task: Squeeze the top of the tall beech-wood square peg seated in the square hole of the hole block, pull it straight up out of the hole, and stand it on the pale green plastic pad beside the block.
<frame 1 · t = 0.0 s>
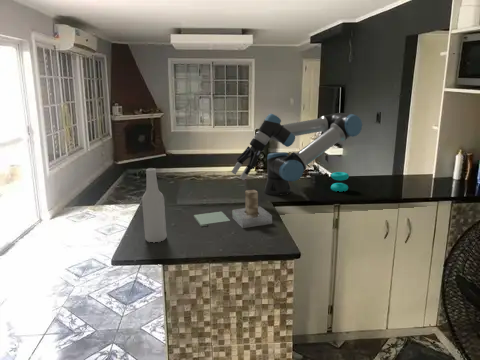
hand: (237, 176, 209), 15 cm above the countertop, tool tilted 35°, fingers open, 13 cm apart
square peg: (251, 220, 185), point 1 cm above the countertop, touching hole block
alcohol: (156, 239, 169), on the countertop
pad: (211, 219, 190), on the countertop
hole block: (251, 222, 185), on the countertop
donuts: (339, 190, 236), on the countertop
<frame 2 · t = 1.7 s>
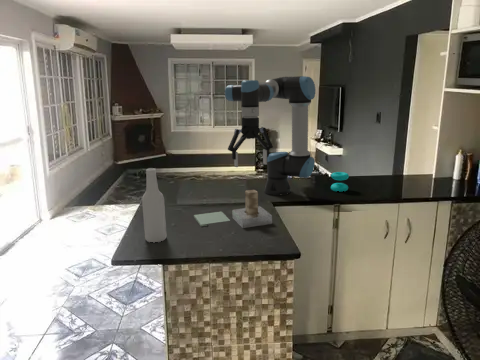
hand: (250, 165, 179), 27 cm above the countertop, tool pointing down, fingers open, 13 cm apart
nothing on the countertop moved.
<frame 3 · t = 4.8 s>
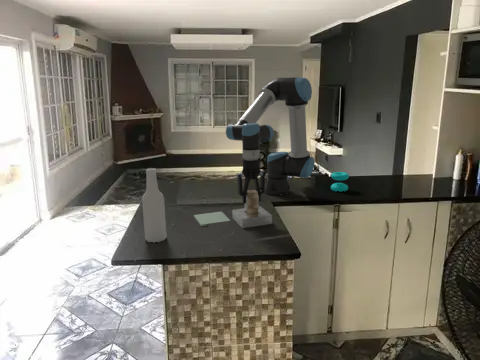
hand: (251, 208, 184), 7 cm above the countertop, tool pointing down, fingers closed on square peg, 4 cm apart
square peg: (251, 220, 185), point 1 cm above the countertop, touching gripper, hole block
everything else where it was.
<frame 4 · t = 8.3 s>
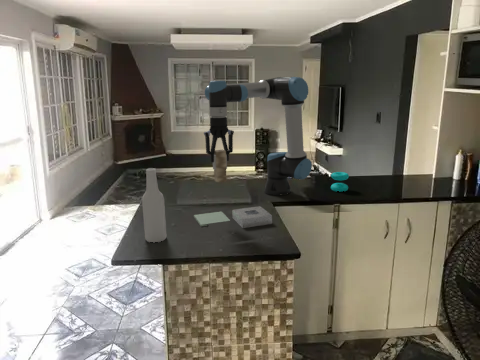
hand: (219, 168, 183), 25 cm above the countertop, tool pointing down, fingers closed on square peg, 4 cm apart
square peg: (220, 180, 184), point 19 cm above the countertop, touching gripper
everything else where it was.
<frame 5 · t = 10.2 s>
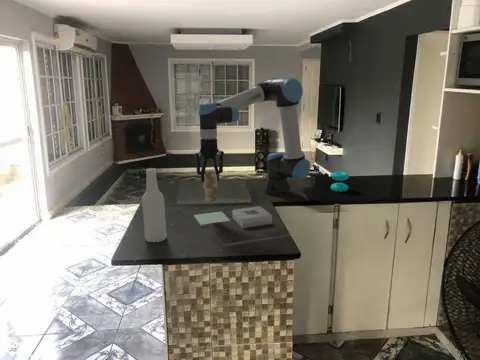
hand: (210, 188, 186), 15 cm above the countertop, tool pointing down, fingers closed on square peg, 4 cm apart
square peg: (210, 200, 188), point 10 cm above the countertop, touching gripper
everything else where it was.
when the fingers open (7 cm above the countertop, at t = 12.1 s): square peg stays where it is, resting on pad.
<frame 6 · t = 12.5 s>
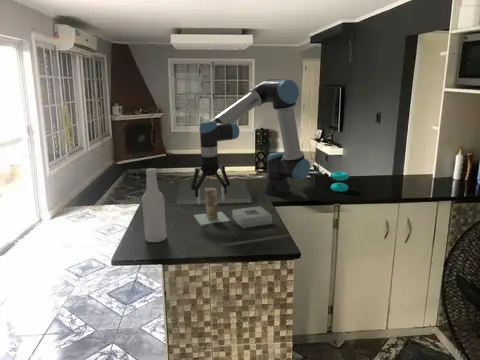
hand: (211, 201, 188), 9 cm above the countertop, tool pointing down, fingers open, 11 cm apart
square peg: (211, 217, 190), point 1 cm above the countertop, touching pad
everything else where it was.
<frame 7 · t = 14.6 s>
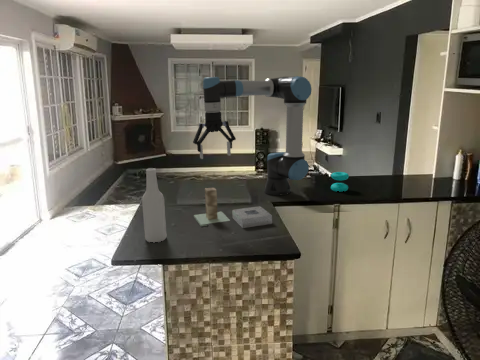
hand: (215, 157, 191), 29 cm above the countertop, tool pointing down, fingers open, 13 cm apart
nothing on the countertop moved.
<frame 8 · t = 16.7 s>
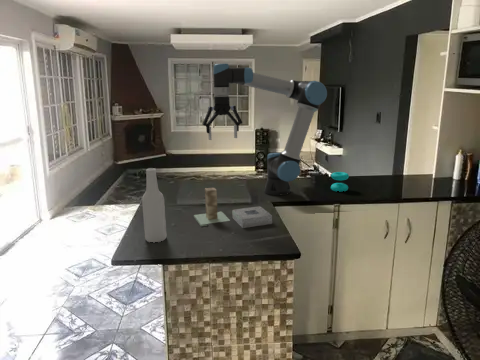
hand: (223, 138, 205), 35 cm above the countertop, tool pointing down, fingers open, 13 cm apart
nothing on the countertop moved.
at the end: square peg inside the target area on the pad (0.0 cm from its centre), point 1.0 cm above the pad's base; square peg tilted 0°; the gripper is holding nothing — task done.
